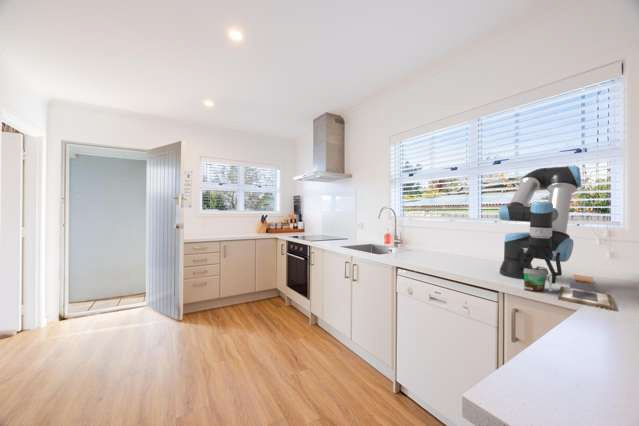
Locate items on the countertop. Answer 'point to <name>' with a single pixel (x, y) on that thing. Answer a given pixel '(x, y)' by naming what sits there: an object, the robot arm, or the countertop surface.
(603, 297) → the drawing board
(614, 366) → the countertop surface
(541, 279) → the food container
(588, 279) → the button
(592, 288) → the button housing
